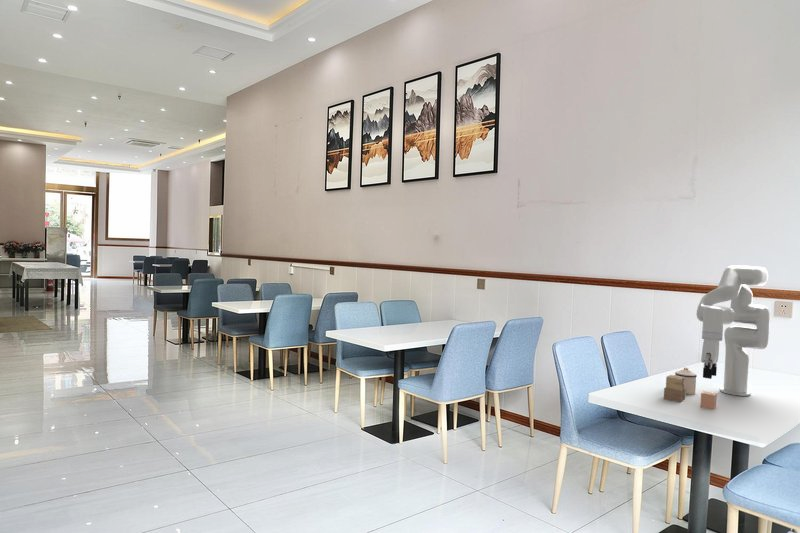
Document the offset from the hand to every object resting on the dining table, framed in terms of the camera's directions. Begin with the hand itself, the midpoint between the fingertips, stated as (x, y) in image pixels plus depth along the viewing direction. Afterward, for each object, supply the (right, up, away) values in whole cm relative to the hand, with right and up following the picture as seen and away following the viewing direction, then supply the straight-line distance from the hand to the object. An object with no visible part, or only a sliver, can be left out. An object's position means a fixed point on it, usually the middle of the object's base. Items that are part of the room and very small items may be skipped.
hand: (709, 376), depth 232 cm
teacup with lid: (+2, -13, +26) cm, 29 cm away
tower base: (-9, -13, +12) cm, 19 cm away
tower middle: (-9, -8, +12) cm, 16 cm away
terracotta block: (0, -13, +1) cm, 13 cm away
